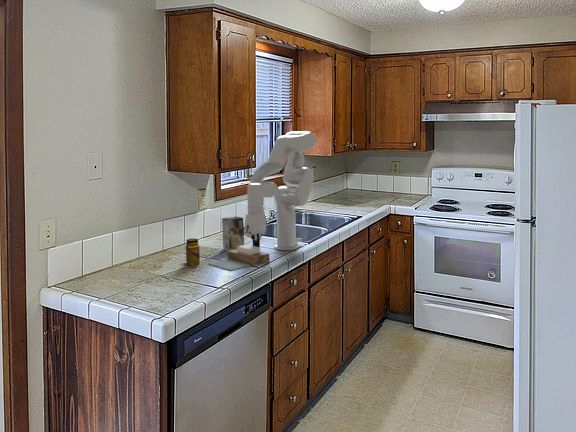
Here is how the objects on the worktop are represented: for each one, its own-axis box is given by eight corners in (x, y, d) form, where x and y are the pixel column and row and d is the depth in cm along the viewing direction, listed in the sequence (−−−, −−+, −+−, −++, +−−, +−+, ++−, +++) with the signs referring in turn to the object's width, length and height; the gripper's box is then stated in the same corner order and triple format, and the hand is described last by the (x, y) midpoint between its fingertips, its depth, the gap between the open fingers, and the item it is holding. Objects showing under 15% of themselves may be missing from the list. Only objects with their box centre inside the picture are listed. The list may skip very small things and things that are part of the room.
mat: (228, 259, 257) (228, 258, 257) (250, 265, 246) (250, 264, 246) (208, 264, 249) (208, 263, 249) (230, 271, 238) (230, 270, 238)
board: (244, 255, 265) (243, 247, 264) (269, 261, 253) (269, 253, 252) (227, 259, 258) (227, 250, 258) (253, 266, 246) (252, 257, 245)
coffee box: (238, 246, 284) (237, 216, 281) (244, 248, 279) (243, 217, 276) (222, 249, 278) (221, 218, 275) (229, 251, 273) (228, 219, 270)
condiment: (201, 266, 246) (200, 240, 244) (182, 268, 244) (181, 241, 242) (200, 262, 253) (199, 237, 251) (181, 263, 251) (180, 238, 249)
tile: (247, 249, 260) (247, 244, 260) (260, 252, 254) (259, 247, 253) (237, 251, 256) (237, 246, 256) (250, 254, 250) (250, 249, 249)
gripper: (262, 207, 263) (262, 244, 266) (238, 210, 252) (238, 249, 255) (272, 208, 257) (273, 246, 261) (248, 212, 247) (249, 252, 250)
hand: (256, 248), depth 258 cm, fingers closed
